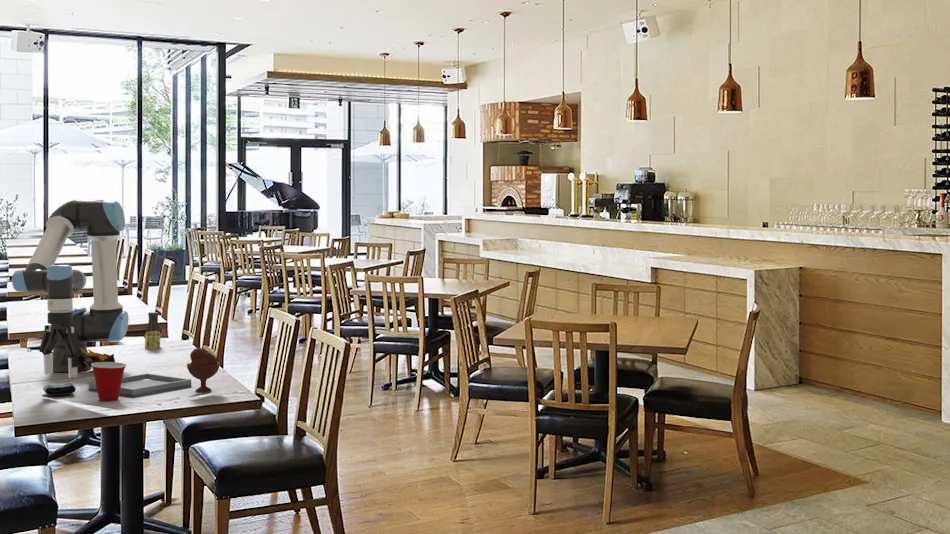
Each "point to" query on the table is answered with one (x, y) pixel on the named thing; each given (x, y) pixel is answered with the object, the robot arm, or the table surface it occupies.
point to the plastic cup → (108, 379)
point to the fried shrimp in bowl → (96, 357)
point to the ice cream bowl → (202, 367)
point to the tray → (147, 384)
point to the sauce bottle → (152, 332)
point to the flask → (59, 389)
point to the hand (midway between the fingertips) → (60, 375)
